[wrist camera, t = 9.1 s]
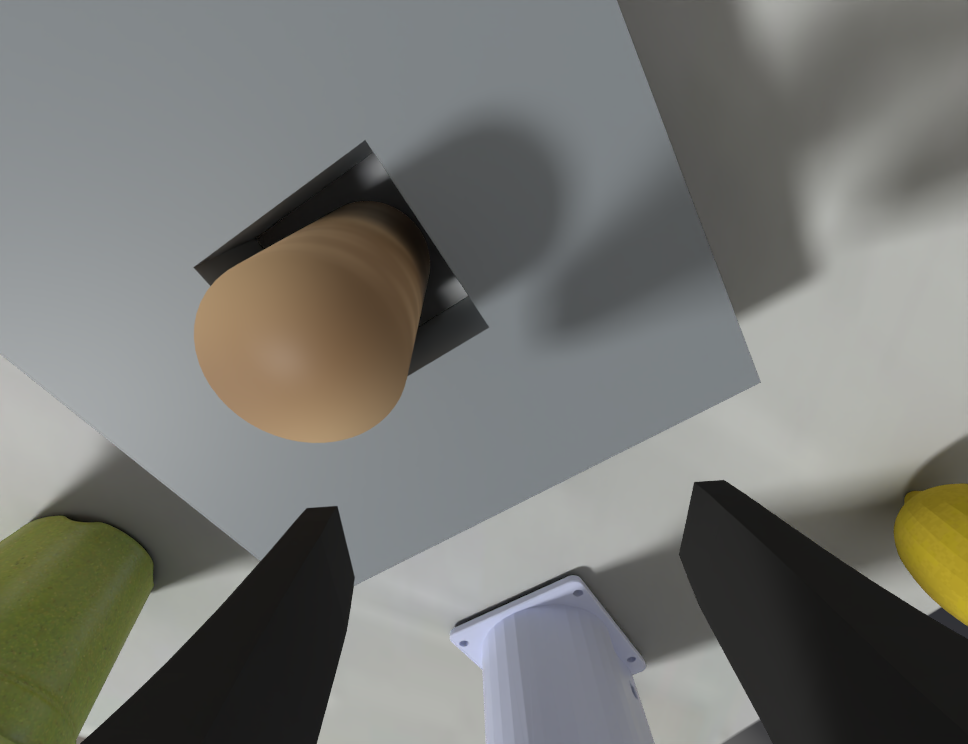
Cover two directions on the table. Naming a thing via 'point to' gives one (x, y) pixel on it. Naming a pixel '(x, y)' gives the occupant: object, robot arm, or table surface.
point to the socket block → (431, 196)
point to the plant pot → (63, 622)
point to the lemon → (937, 544)
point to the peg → (318, 325)
